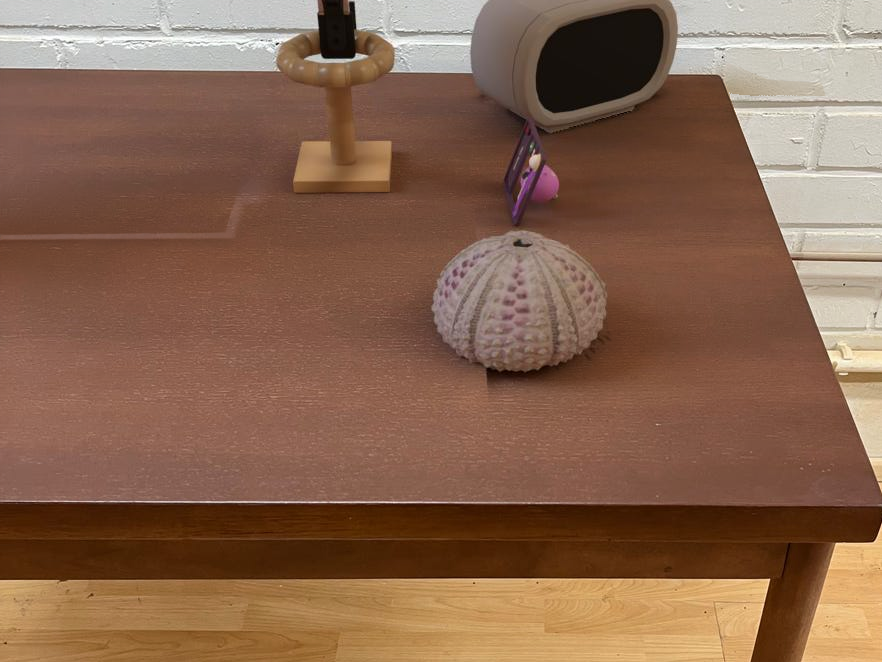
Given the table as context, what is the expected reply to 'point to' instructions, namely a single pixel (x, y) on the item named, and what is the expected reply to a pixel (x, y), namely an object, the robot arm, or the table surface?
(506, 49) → the alarm clock
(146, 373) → the table surface
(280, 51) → the ring
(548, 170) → the purple toy package
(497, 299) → the sea urchin shell
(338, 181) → the stand
